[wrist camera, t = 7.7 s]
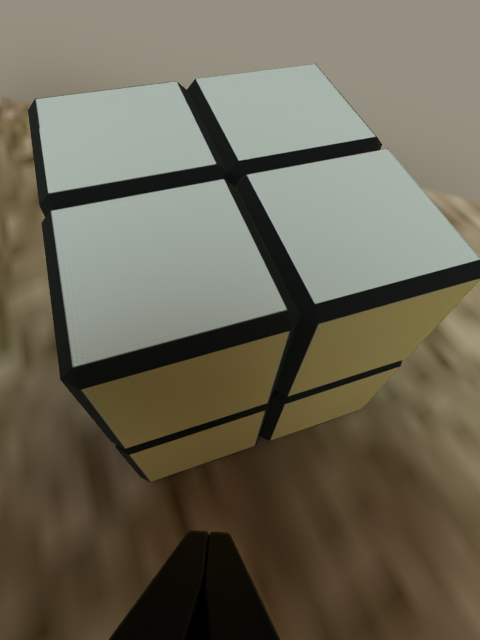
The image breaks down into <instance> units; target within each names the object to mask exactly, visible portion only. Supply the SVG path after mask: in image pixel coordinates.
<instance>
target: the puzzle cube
mask: <svg viewBox="0 0 480 640" xmlns="http://www.w3.org/2000/svg"><path fill="white" fill-rule="evenodd" d="M28 114H29V122H30V130H31V139H32V147H33V155H34V164H35V172H36V180H37V188H38V197H39V205H40V207H41V210H42V212H43V214H44V216H45V219H44V220H43V222H42V230H43V238H44V247H45V255H46V263H47V271H48V280H49V288H50V296H51V305H52V313H53V321H54V329H55V338H56V346H57V354H58V363H59V371H60V379H61V381H62V382H63V383H64V385H65V386H66V387H67V388H68V389H69V391H70V392H71V393H72V394H73V396H74V397H75V398H76V399H77V400H78V402H79V403H80V404H81V405H82V406H83V408H84V409H85V410H86V411H87V413H88V414H89V415H90V416H91V417H92V419H93V420H94V421H95V422H96V424H97V425H98V426H99V427H100V428H101V430H102V431H103V432H104V433H105V434H106V436H107V437H108V438H109V439H110V441H111V442H113V443H115V444H116V448H117V450H118V451H119V452H120V453H121V454H122V456H123V457H124V458H125V459H126V460H127V461H128V463H129V464H130V465H131V466H132V467H133V468H134V470H135V471H136V472H137V473H138V474H139V475H140V477H142V478H144V479H146V480H147V481H149V482H152V481H155V480H158V479H161V478H164V477H167V476H170V475H172V474H175V473H178V472H181V471H184V470H187V469H190V468H193V467H196V466H198V465H201V464H204V463H207V462H210V461H213V460H216V459H219V458H222V457H224V456H227V455H230V454H233V453H236V452H239V451H242V450H245V449H248V448H250V447H253V446H255V445H256V443H257V441H258V438H259V436H261V437H263V438H265V439H267V440H269V441H271V440H274V439H277V438H280V437H283V436H285V435H288V434H291V433H294V432H297V431H300V430H303V429H306V428H309V427H311V426H314V425H317V424H320V423H323V422H326V421H329V420H332V419H335V418H337V417H340V416H343V415H346V414H349V413H352V412H355V411H358V410H360V409H362V408H363V407H364V406H365V405H366V404H367V403H368V402H369V401H370V399H371V398H372V397H373V396H374V395H375V394H376V393H377V392H378V391H379V389H380V388H381V387H382V386H383V385H384V384H385V383H386V382H387V381H388V379H389V378H390V377H391V376H392V375H393V374H394V373H395V372H396V371H397V370H398V368H399V367H400V366H401V362H402V360H404V359H407V358H408V357H409V356H410V355H411V354H412V353H413V352H414V350H415V349H416V348H417V347H418V346H419V345H420V344H421V343H422V342H423V341H424V340H425V339H426V337H427V336H428V335H429V334H430V333H431V332H432V331H433V330H434V329H435V328H436V327H437V326H438V324H439V323H440V322H441V321H442V320H443V319H444V318H445V317H446V316H447V315H448V314H449V313H450V311H451V310H452V309H453V308H454V307H455V306H456V305H457V304H458V303H459V302H460V301H461V300H462V298H463V297H464V296H465V295H466V294H467V293H468V292H469V291H470V290H471V289H472V288H473V287H474V285H475V284H476V283H477V282H478V281H479V280H480V257H479V256H478V255H477V254H476V253H475V252H474V250H473V249H472V248H471V247H470V246H469V244H468V243H467V242H466V241H465V240H464V238H463V237H462V236H461V235H460V234H459V233H458V231H457V230H456V229H455V228H454V227H453V225H452V224H451V223H450V222H449V221H448V219H447V218H446V217H445V216H444V215H443V214H442V212H441V211H440V210H439V209H438V208H437V206H436V205H435V204H434V203H433V202H432V201H431V199H430V198H429V197H428V196H427V195H426V193H425V192H424V191H423V190H422V189H421V187H420V186H419V185H418V184H417V183H416V182H415V180H414V179H413V178H412V177H411V176H410V174H409V173H408V172H407V171H406V170H405V169H404V167H403V166H402V165H401V164H400V163H399V161H398V160H397V159H396V158H395V157H394V155H393V154H392V153H391V152H390V151H389V150H388V149H383V150H380V148H381V146H382V144H381V142H380V141H379V139H378V138H377V137H376V135H375V134H374V133H373V132H372V130H371V129H370V128H369V127H368V126H367V125H366V124H365V122H364V121H363V120H362V119H361V118H360V116H359V115H358V114H357V113H356V111H355V110H354V109H353V108H352V107H351V105H350V104H349V103H348V102H347V101H346V100H345V98H344V97H343V96H342V95H341V94H340V92H339V91H338V90H337V89H336V88H335V86H334V85H333V84H332V83H331V82H330V80H329V79H328V78H327V77H326V76H325V75H324V73H323V72H322V71H321V70H320V69H319V67H318V66H317V65H316V64H311V65H302V66H294V67H287V68H278V69H270V70H262V71H254V72H246V73H239V74H230V75H222V76H214V77H207V78H198V79H195V80H194V81H193V83H192V84H191V85H190V87H189V88H188V89H187V90H186V89H185V88H184V87H182V86H181V85H180V84H179V83H178V82H177V81H174V82H166V83H158V84H150V85H142V86H134V87H126V88H118V89H110V90H102V91H94V92H86V93H78V94H70V95H62V96H54V97H46V98H38V99H35V100H34V101H33V103H32V105H31V107H30V108H29V110H28Z"/></svg>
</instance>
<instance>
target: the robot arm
mask: <svg viewBox="0 0 480 640" xmlns="http://www.w3.org/2000/svg"><path fill="white" fill-rule="evenodd" d="M109 640H280V638H279V636H278V634H277V632H276V630H275V627H274V625H273V623H272V621H271V619H270V617H269V615H268V613H267V611H266V609H265V606H264V604H263V602H262V600H261V598H260V596H259V594H258V592H257V590H256V588H255V585H254V583H253V581H252V579H251V577H250V575H249V573H248V571H247V569H246V567H245V564H244V562H243V560H242V558H241V556H240V554H239V552H238V550H237V548H236V546H235V543H234V541H233V539H232V537H231V535H230V534H229V533H227V532H211V533H210V534H208V532H206V531H189V532H188V533H187V534H186V535H185V537H184V538H183V539H182V541H181V542H180V544H179V545H178V546H177V548H176V549H175V550H174V552H173V553H172V554H171V556H170V557H169V558H168V560H167V561H166V563H165V564H164V565H163V567H162V568H161V569H160V571H159V572H158V573H157V575H156V576H155V577H154V579H153V580H152V582H151V583H150V584H149V586H148V587H147V588H146V590H145V591H144V592H143V594H142V595H141V596H140V598H139V599H138V601H137V602H136V603H135V605H134V606H133V607H132V609H131V610H130V611H129V613H128V614H127V615H126V617H125V618H124V620H123V621H122V622H121V624H120V625H119V626H118V628H117V629H116V630H115V632H114V633H113V634H112V636H111V637H110V639H109Z"/></svg>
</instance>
